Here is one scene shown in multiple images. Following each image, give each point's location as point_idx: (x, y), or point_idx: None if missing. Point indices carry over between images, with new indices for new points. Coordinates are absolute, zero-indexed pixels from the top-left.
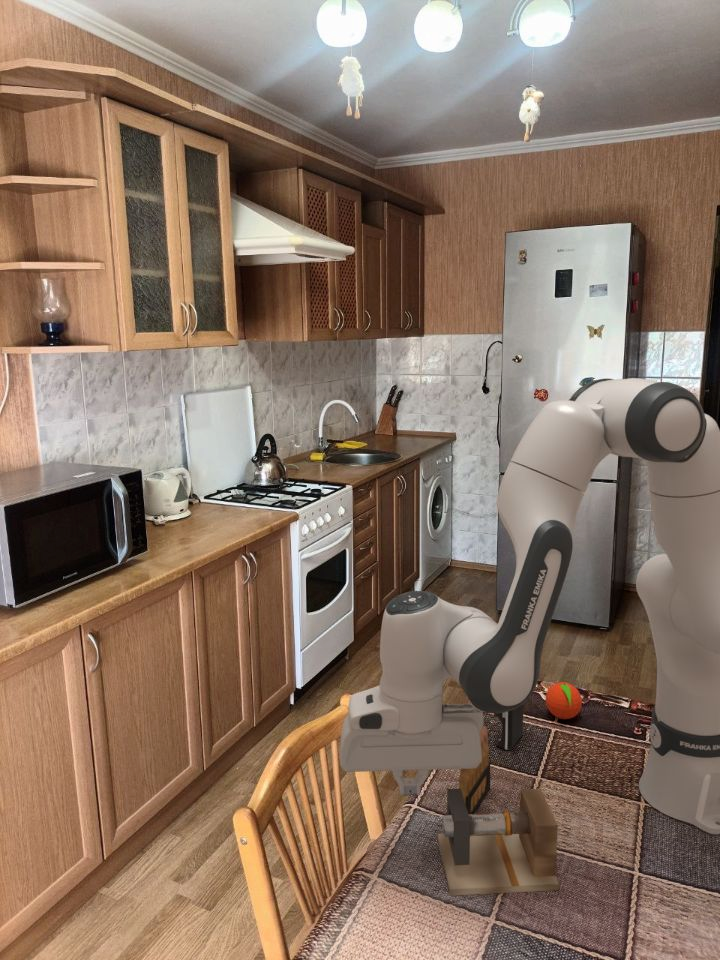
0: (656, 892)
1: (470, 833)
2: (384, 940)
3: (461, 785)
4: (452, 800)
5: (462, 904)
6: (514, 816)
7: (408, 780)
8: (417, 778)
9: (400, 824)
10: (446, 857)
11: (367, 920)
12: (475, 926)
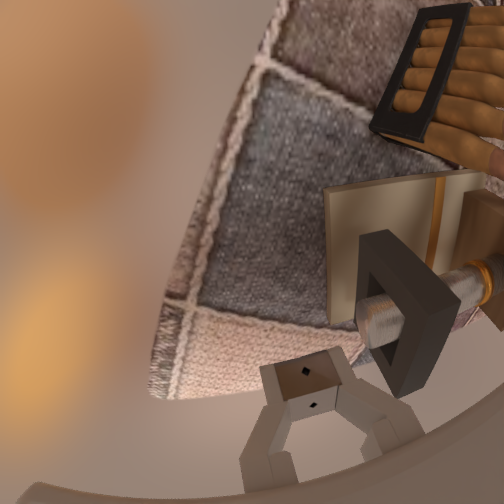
0: None
1: None
2: (229, 385)
3: (452, 159)
4: (420, 353)
5: (341, 325)
6: (494, 294)
7: (309, 400)
8: (350, 408)
9: (226, 141)
10: (338, 262)
11: (200, 370)
12: (348, 348)
